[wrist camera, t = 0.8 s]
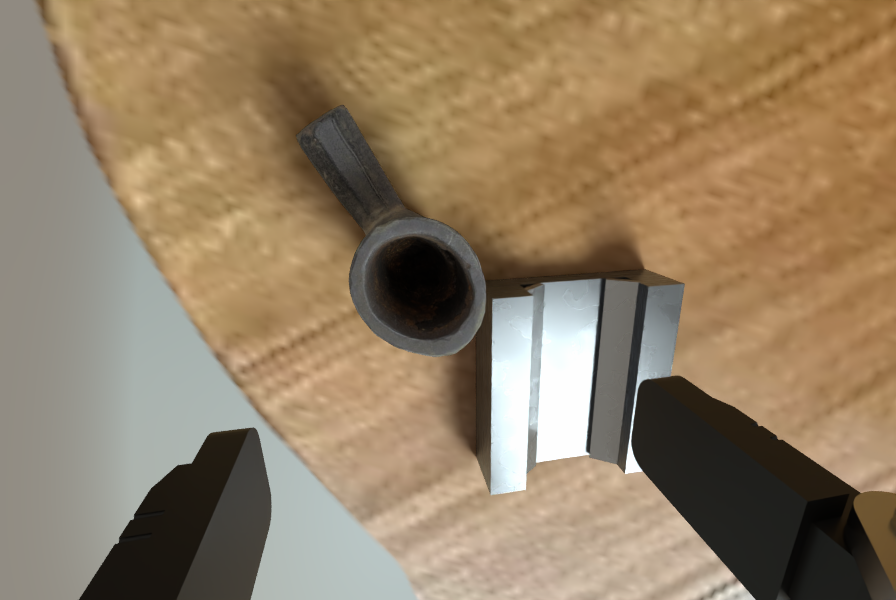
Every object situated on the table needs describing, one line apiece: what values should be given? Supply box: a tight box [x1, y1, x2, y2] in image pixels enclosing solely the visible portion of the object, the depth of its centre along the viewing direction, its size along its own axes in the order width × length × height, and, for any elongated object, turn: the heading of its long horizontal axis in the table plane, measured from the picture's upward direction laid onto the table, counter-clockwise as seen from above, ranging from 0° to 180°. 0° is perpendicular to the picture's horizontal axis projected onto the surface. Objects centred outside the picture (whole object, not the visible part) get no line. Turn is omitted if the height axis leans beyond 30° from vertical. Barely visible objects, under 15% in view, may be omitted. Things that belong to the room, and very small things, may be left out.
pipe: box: [296, 105, 486, 357], centre depth 22 cm, size 6×13×8 cm, turn 31°
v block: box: [476, 269, 685, 495], centre depth 30 cm, size 14×12×4 cm
